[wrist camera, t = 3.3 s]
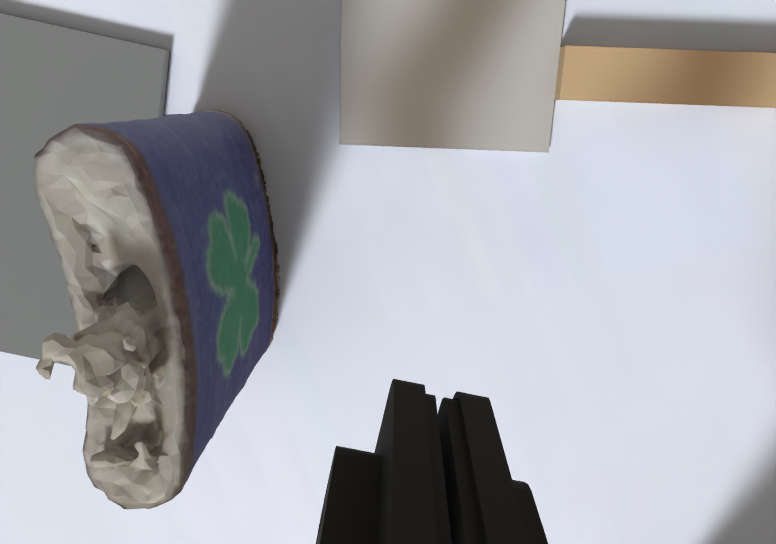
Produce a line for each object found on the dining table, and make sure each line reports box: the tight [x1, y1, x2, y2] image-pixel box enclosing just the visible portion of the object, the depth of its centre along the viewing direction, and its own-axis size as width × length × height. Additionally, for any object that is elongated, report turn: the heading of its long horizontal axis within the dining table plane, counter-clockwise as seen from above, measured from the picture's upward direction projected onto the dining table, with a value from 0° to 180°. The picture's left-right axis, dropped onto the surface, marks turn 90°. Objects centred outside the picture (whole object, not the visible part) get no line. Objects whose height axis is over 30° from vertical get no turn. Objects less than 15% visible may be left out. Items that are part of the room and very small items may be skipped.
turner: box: [340, 0, 776, 152], centre depth 19 cm, size 17×5×1 cm, turn 88°
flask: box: [33, 110, 280, 509], centre depth 16 cm, size 9×3×11 cm, turn 2°
